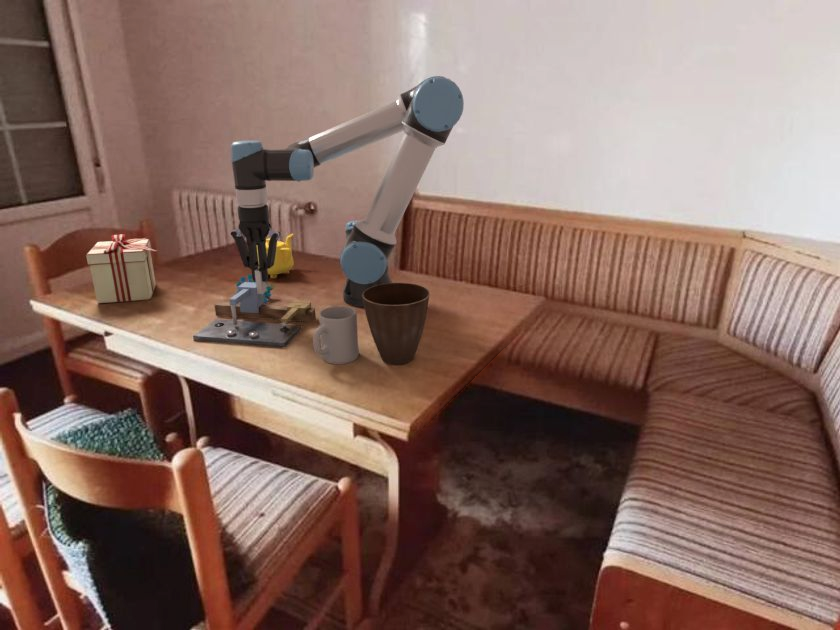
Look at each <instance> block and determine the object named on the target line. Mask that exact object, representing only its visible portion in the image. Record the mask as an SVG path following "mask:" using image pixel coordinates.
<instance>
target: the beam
mask: <svg viewBox="0 0 840 630" xmlns="http://www.w3.org/2000/svg"><path fill="white" fill-rule="evenodd" d="M287 306H288V305H287ZM287 306H284V305H272V304H270V305H269V304H265V305H261V306H260V307H259V313H248V312H241V311H240V303H238V304H237V305H235V308H236V316H237V318H252V319H253V318H254V319H264V320H266V319H268V320H279V321H281V318H282V317H283V316H284V315H285V314H286V313H287ZM214 312H215V316H225V317H232V310H231V305H230V301H229V302H228V301H218V302H216V303H215V304H214ZM316 317H317V315H316V308H315V307H311V308H308V309H307V310H306V316H305V317H304V316H294V317H293V318H292V319H291V320H290V321H294V322H304V323H305V322H309V323H313V322H314V321H315V320H316V319H317V318H316Z"/></svg>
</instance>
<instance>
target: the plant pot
mask: <svg viewBox="0 0 840 630" xmlns="http://www.w3.org/2000/svg"><path fill="white" fill-rule="evenodd" d="M362 298H363V303H364V307H363V308H364V312H365V316H366V320H367V324H368V327H369V330H370V334H371V337H372V339H373V342H374V344H375V347H376V349H377V351H378V354H379V356H380V359H381V360H382V361H383V362H384V363H386V364H388V365H391V366H392V365H394V366H400V365H402V366H403V365H406V364H409V363H411V362H412V361H413V360H414V358H415V356H416V353H417V351H418V348H419V345H420V342H421V340H422V336H423V332H424V328H425V325H426V320H427V319H426V318H427V313H428V308H429V301H430V300H429V299H430V291H429V290H428V288H426V287H424V286H422V285H419V284H416V283H409V282H392V283H386V284H380V285H376V286H372V287H370V288H368V289H366V290H365V291H364V292H363V293H362Z"/></svg>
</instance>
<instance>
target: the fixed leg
mask: <svg viewBox="0 0 840 630" xmlns="http://www.w3.org/2000/svg"><path fill="white" fill-rule="evenodd" d="M308 308H312V302H311V301H301V300H300V301H299V300H293V301H292V302H291V303H290V304H289V305H287V313H286V314H285V315H284V316H283V317H282V318H281V320H280V323H281V324H282V327H283V329H286V328H287V326H286V324H288V323H289V322H290V321H291V319H292V318H293V317H294V316H304V317H305V316H306V310H307V309H308Z"/></svg>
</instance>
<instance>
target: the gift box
mask: <svg viewBox="0 0 840 630" xmlns="http://www.w3.org/2000/svg"><path fill="white" fill-rule="evenodd" d="M125 238H126V234H125V233H124V234H122V233H121V234H114V235H111V240H110V241H109V240H108V241H107V240H106V241H97V242H96V243H95V244H94V246H93V247H92V248H90V250H89V251H88V252H87V253H86V255H85V257H86V260H87V265H88V266H89V268H90V273H91V278H92V283H93V289H94V293H95V299H96V303H97V304H105V303H106V304H107V303H108V304H109V303H120V302H133V301H144V300H151V298H152V296H153V294H154V291H155V288H156V285H157V284H156V283H157V282H156V277H155V271H154V266H153V259H152V252H158V251H159V249H153V248H152V245H151V240H150V238H149V237H144V238H128V239H125Z"/></svg>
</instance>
